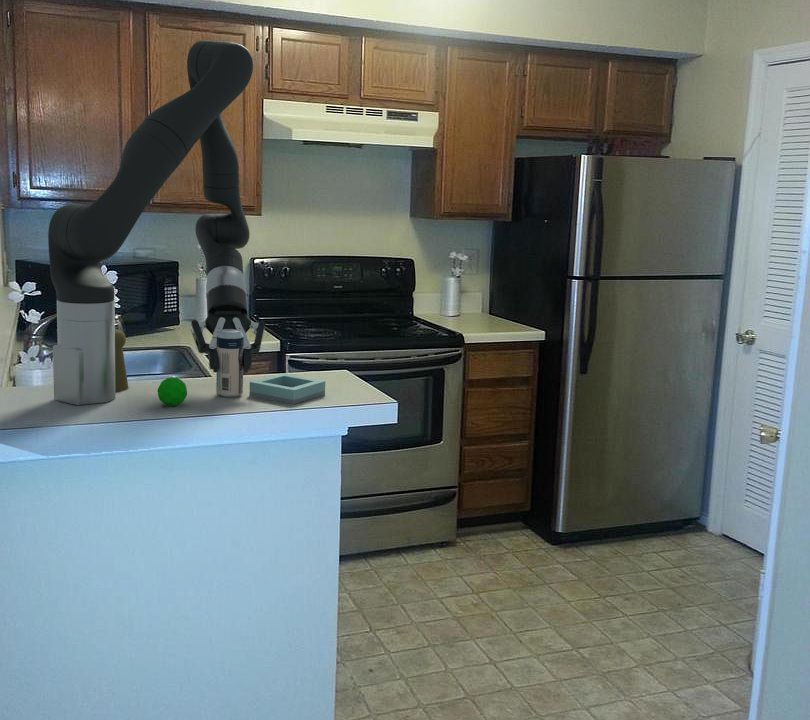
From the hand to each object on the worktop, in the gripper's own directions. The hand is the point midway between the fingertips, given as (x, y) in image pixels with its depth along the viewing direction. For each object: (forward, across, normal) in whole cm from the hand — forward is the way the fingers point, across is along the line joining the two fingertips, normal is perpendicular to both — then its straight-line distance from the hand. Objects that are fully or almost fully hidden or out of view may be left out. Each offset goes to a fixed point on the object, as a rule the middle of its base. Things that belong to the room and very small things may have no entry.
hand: (230, 369), depth 150 cm
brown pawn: (-2, -21, +10) cm, 23 cm away
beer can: (+2, 0, +5) cm, 6 cm away
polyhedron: (+7, -10, 0) cm, 13 cm away
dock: (+3, +11, +4) cm, 12 cm away
